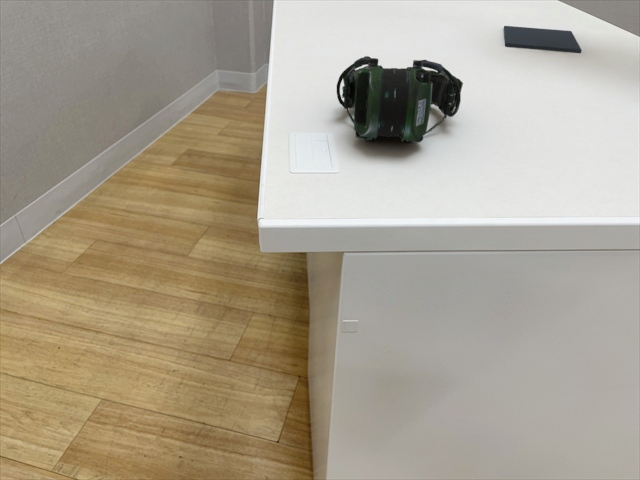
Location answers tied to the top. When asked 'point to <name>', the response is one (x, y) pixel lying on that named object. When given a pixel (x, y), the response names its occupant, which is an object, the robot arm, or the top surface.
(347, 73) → the headphones
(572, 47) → the slate mat
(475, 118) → the top surface
